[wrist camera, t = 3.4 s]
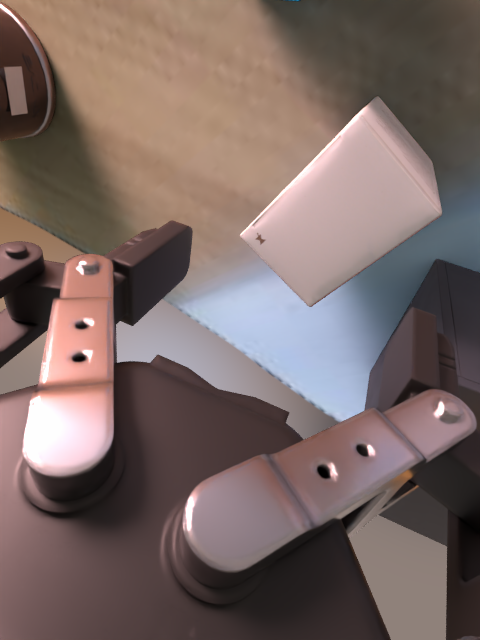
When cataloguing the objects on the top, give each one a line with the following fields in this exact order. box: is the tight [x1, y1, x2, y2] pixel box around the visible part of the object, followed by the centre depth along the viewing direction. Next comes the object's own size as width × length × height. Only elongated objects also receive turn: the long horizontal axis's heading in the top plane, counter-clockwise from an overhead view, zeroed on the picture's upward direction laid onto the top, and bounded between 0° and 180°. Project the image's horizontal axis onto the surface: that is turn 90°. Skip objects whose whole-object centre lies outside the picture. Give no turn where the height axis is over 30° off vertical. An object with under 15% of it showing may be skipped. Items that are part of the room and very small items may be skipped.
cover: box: [365, 259, 480, 546], centre depth 23 cm, size 10×12×18 cm
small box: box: [240, 96, 442, 307], centre depth 21 cm, size 8×6×10 cm
